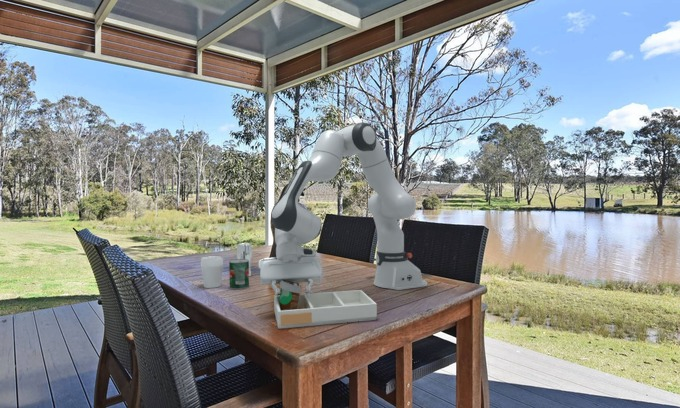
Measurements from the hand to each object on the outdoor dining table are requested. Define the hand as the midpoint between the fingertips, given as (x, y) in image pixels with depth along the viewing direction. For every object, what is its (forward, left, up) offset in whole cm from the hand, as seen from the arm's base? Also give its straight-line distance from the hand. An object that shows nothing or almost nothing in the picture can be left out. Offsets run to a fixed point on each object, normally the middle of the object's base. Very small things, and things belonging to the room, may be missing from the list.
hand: (293, 293), depth 118 cm
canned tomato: (+17, -44, -8) cm, 48 cm away
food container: (+3, -2, -6) cm, 7 cm away
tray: (-10, -1, -8) cm, 12 cm away
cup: (+28, -48, -8) cm, 56 cm away
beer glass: (+15, -64, -8) cm, 66 cm away
